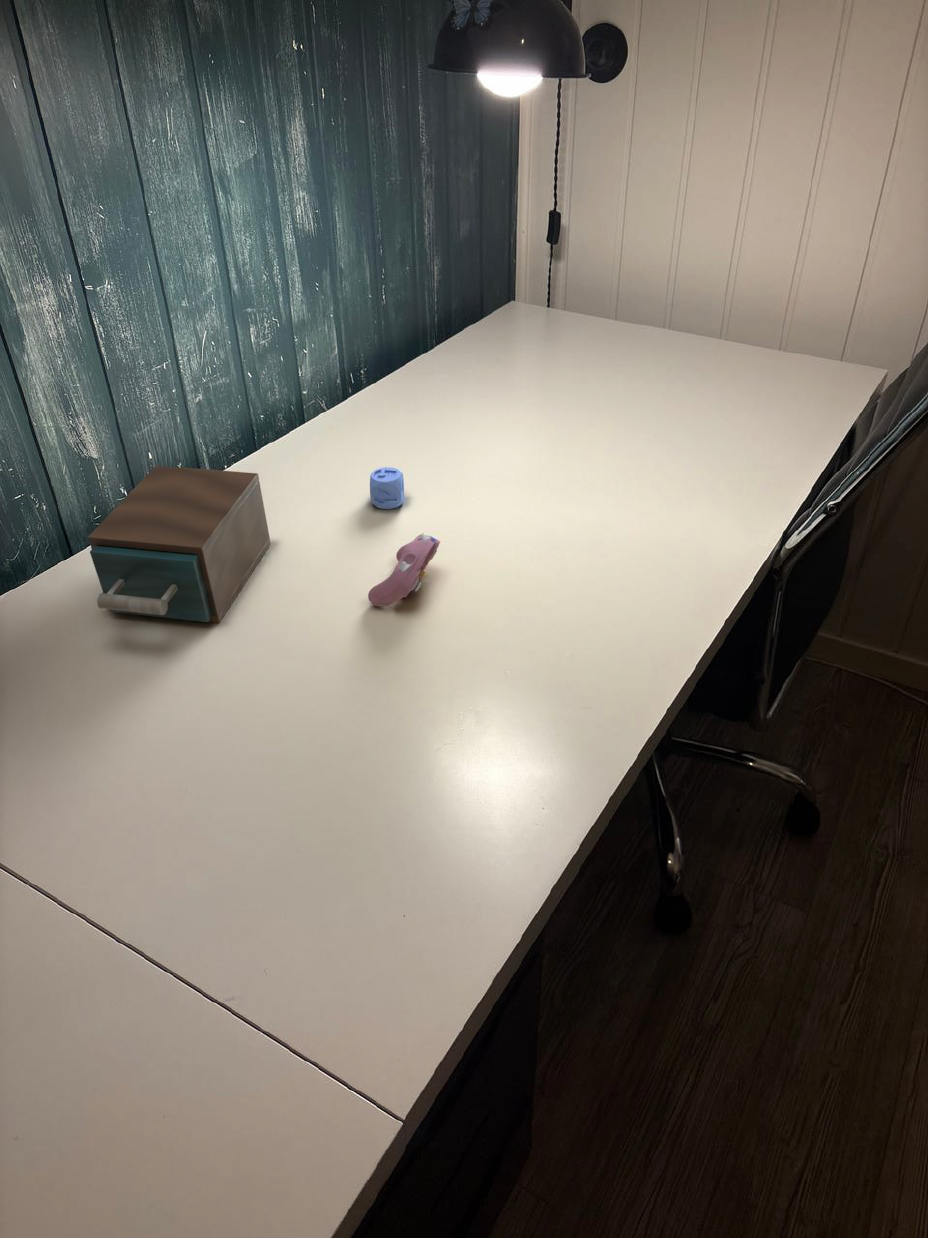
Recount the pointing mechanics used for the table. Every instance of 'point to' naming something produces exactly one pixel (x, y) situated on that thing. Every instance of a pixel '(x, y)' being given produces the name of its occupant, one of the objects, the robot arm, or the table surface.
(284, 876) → the table surface
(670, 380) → the table surface
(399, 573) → the video game controller
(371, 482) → the decorative dice
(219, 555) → the cabinet
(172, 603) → the drawer
